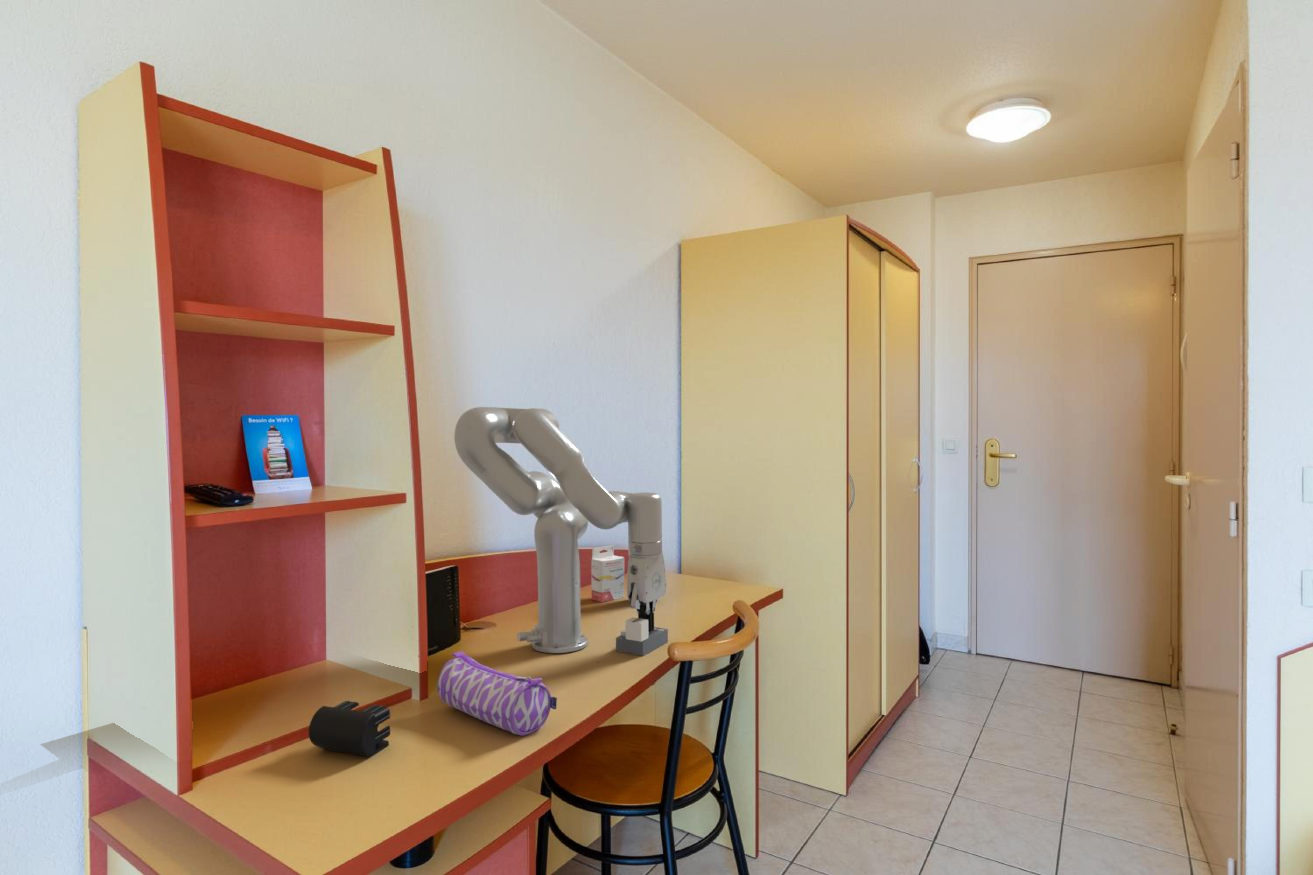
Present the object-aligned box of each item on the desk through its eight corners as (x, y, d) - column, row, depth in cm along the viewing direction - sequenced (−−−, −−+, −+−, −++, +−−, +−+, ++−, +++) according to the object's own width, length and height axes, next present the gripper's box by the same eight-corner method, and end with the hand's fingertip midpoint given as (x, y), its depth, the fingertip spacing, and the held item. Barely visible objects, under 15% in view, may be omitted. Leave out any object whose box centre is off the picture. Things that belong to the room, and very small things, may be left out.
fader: (641, 641, 156) (641, 622, 155) (625, 639, 158) (625, 620, 157) (648, 637, 158) (648, 618, 158) (633, 635, 160) (633, 616, 160)
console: (643, 655, 156) (643, 637, 156) (616, 650, 160) (615, 633, 160) (667, 641, 166) (667, 624, 166) (641, 637, 169) (641, 620, 169)
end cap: (308, 756, 111) (307, 713, 111) (341, 737, 118) (340, 696, 118) (361, 765, 108) (360, 721, 108) (392, 745, 115) (392, 703, 115)
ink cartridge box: (602, 603, 201) (601, 550, 201) (591, 599, 205) (590, 548, 205) (625, 597, 207) (624, 546, 207) (614, 594, 211) (613, 544, 211)
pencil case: (558, 725, 122) (558, 670, 121) (517, 746, 114) (516, 687, 114) (472, 696, 135) (471, 646, 134) (430, 713, 127) (429, 660, 127)
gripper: (642, 555, 153) (643, 641, 153) (676, 544, 165) (677, 624, 166) (612, 552, 156) (613, 636, 157) (648, 541, 169) (649, 619, 170)
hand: (646, 630), depth 161 cm, fingers closed
